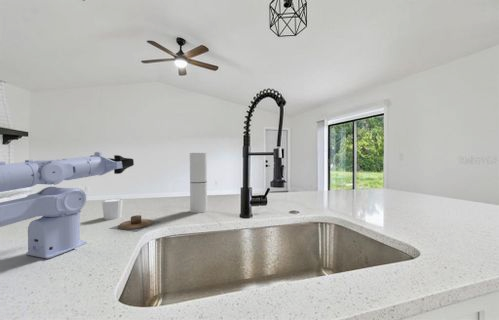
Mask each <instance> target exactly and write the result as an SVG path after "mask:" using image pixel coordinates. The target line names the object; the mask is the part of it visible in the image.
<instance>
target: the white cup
mask: <svg viewBox="0 0 499 320" xmlns="http://www.w3.org/2000/svg"><path fill="white" fill-rule="evenodd" d="M123 201H124V199H123V198H111V199H110V198H109V199H105V200H102V201H101V205H102V213H103V219H104V220H107V221H108V220H116V219H120V218H122V215H123V214H122V213H123V203H124V202H123Z"/></svg>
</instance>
